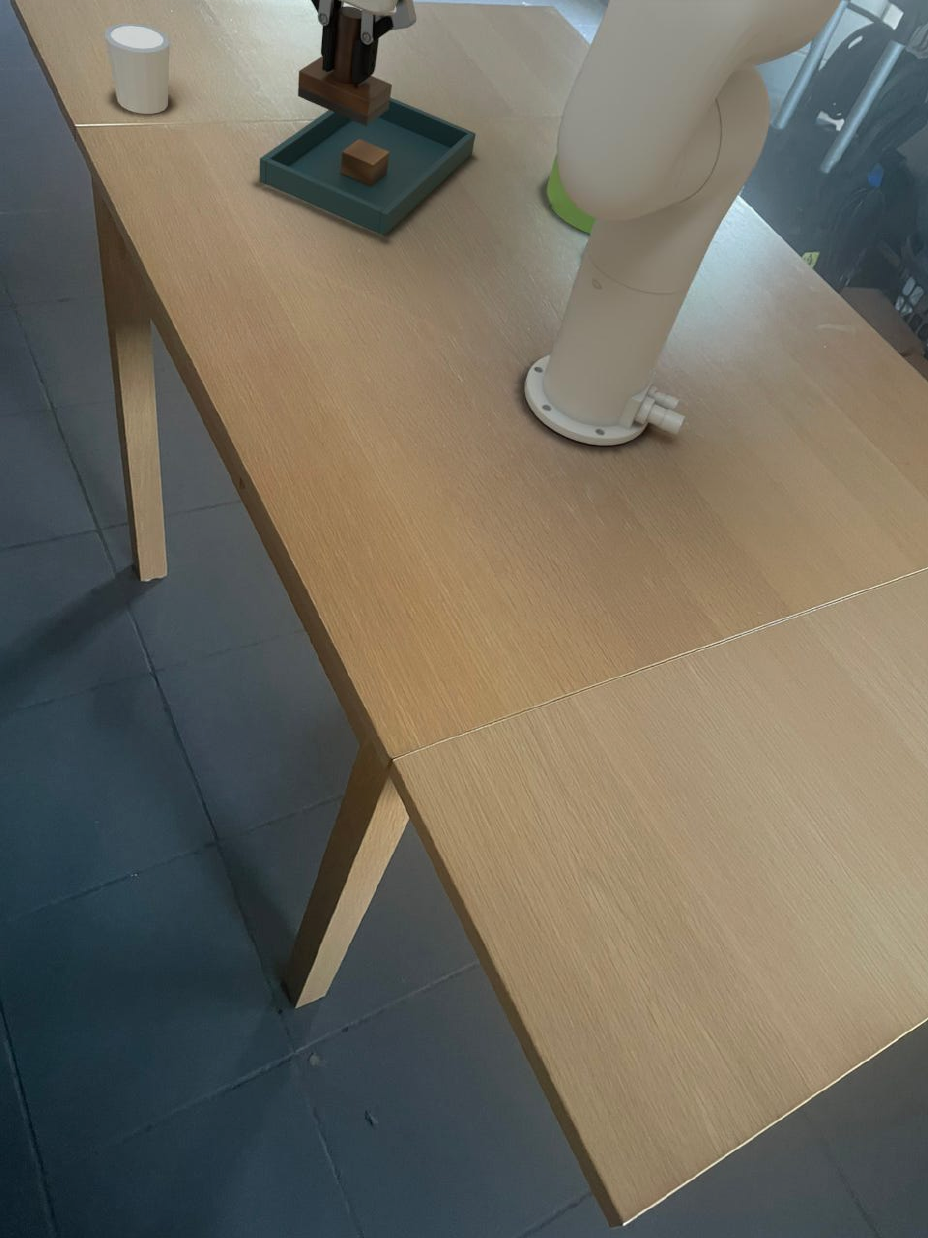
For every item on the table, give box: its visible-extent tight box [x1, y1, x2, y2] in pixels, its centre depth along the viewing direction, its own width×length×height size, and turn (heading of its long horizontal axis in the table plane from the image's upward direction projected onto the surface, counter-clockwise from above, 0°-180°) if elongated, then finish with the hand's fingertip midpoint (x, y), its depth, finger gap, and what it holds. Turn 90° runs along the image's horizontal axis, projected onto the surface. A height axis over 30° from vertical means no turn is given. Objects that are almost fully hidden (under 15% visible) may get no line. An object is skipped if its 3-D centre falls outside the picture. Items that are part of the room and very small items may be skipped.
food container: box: [546, 152, 596, 235], centre depth 105 cm, size 25×15×13 cm, turn 7°
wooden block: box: [341, 139, 389, 186], centre depth 105 cm, size 4×4×2 cm
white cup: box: [104, 22, 171, 115], centre depth 104 cm, size 7×7×7 cm
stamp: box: [297, 5, 393, 126], centre depth 92 cm, size 8×5×8 cm, turn 66°
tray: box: [259, 96, 477, 237], centre depth 107 cm, size 16×24×3 cm, turn 156°
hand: (347, 71), depth 93 cm, fingers closed on stamp, 2 cm apart
